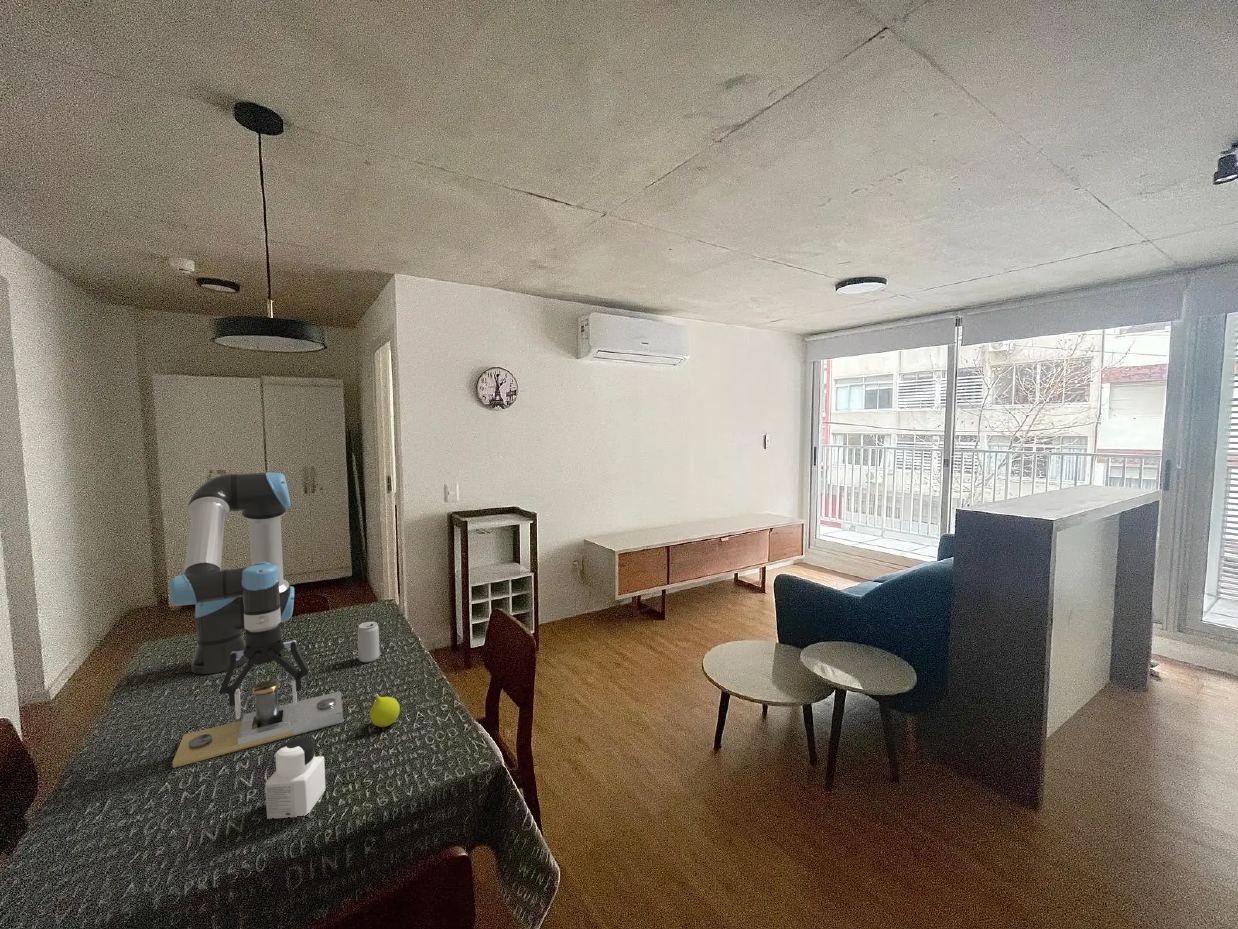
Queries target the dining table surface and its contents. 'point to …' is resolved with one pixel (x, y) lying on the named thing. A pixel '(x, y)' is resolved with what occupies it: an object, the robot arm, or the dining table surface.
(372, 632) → the beverage can
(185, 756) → the link
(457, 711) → the dining table surface
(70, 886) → the dining table surface
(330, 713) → the link
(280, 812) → the container
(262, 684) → the pin
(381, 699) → the lemon
